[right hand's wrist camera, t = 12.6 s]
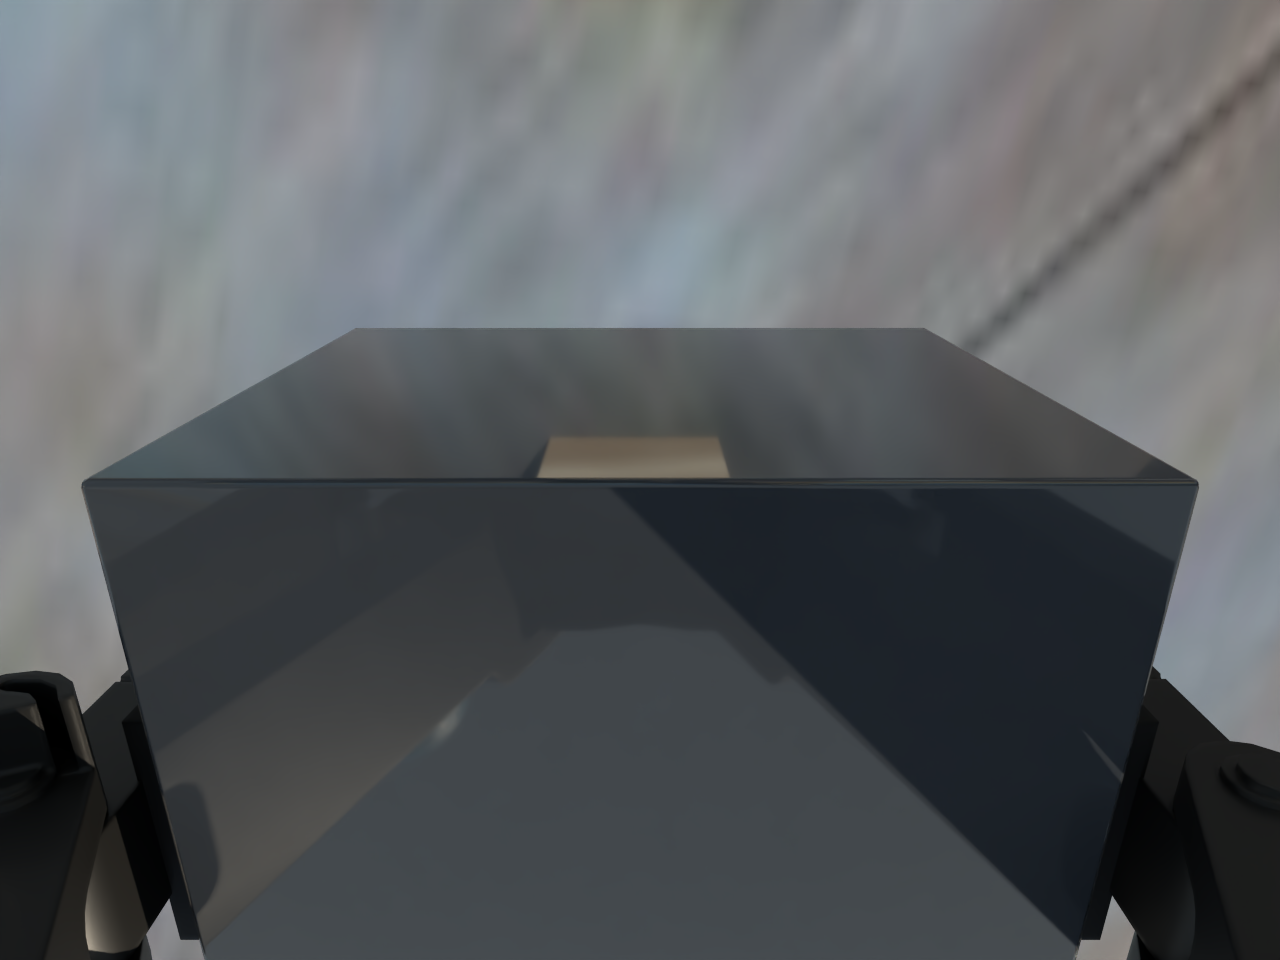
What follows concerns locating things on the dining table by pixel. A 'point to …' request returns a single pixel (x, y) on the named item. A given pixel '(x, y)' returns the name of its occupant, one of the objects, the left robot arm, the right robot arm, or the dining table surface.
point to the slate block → (640, 647)
